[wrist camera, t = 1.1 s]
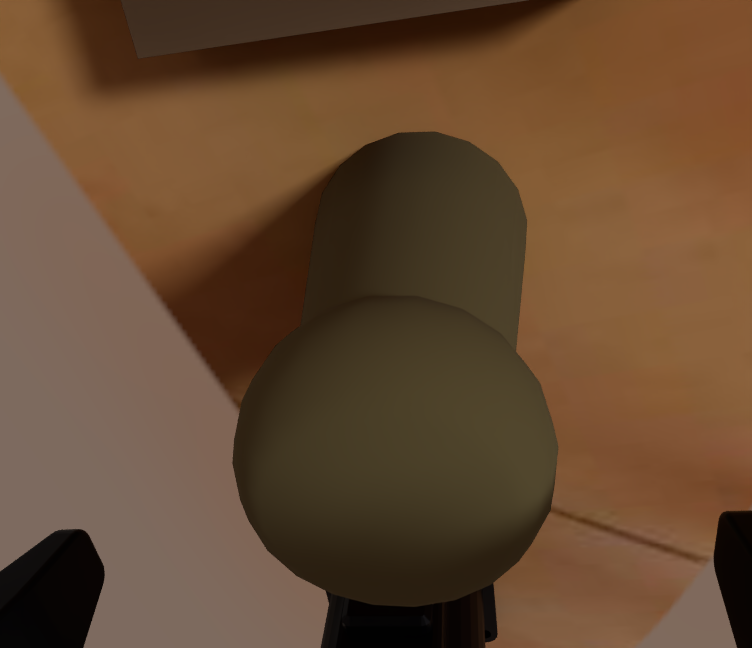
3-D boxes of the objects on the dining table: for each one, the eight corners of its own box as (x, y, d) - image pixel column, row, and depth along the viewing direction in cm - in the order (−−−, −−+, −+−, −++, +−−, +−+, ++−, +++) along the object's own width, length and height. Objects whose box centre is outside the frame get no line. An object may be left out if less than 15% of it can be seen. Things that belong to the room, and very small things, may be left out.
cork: (310, 314, 20) (185, 633, 11) (321, 117, 17) (162, 320, 8) (504, 342, 20) (548, 690, 11) (550, 146, 17) (667, 391, 8)
